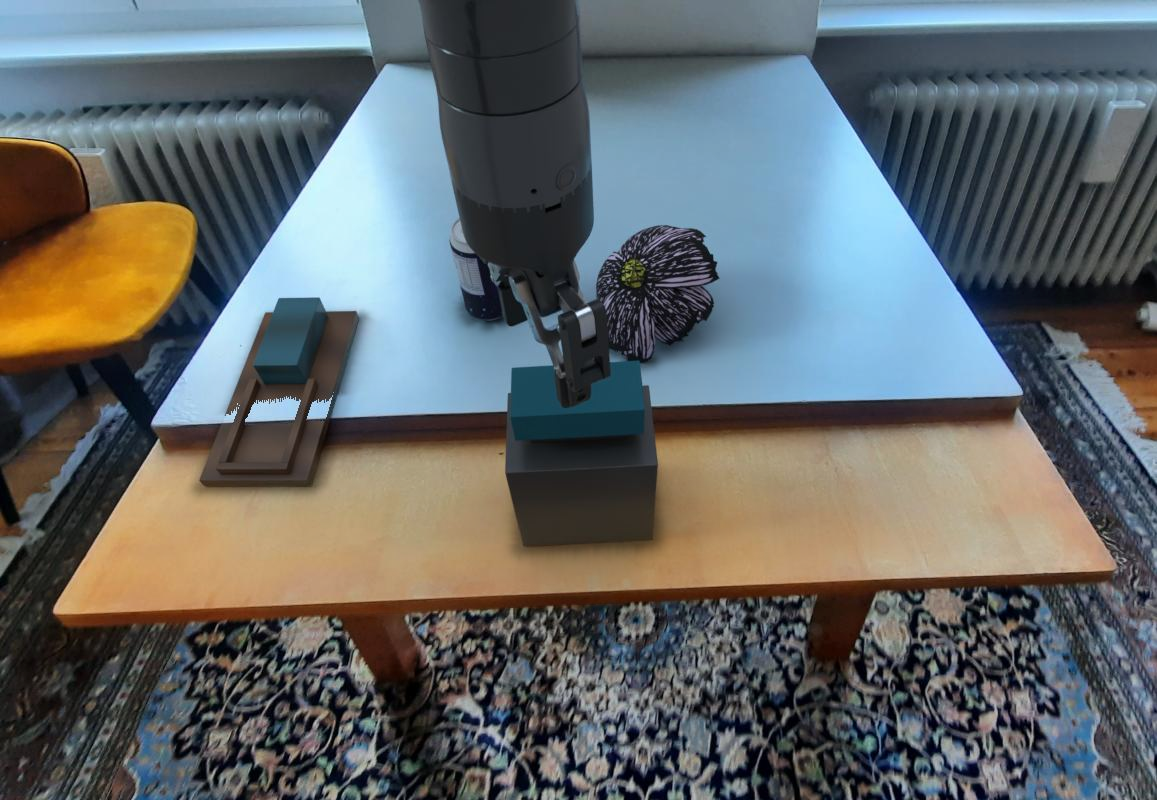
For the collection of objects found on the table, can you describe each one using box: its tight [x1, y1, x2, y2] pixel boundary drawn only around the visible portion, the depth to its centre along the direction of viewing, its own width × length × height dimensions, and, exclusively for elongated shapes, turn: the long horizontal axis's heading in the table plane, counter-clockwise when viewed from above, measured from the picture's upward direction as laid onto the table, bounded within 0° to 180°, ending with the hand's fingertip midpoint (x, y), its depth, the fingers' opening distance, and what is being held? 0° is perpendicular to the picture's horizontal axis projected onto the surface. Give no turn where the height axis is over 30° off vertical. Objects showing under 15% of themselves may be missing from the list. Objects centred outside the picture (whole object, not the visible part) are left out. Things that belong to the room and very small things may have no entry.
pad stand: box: [504, 384, 659, 547], centre depth 64 cm, size 12×8×15 cm, turn 92°
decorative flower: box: [595, 224, 720, 364], centre depth 81 cm, size 15×12×15 cm
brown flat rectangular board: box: [198, 296, 360, 487], centre depth 78 cm, size 23×11×4 cm, turn 178°
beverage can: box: [448, 217, 503, 321], centre depth 82 cm, size 6×6×12 cm
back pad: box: [510, 360, 645, 441], centre depth 57 cm, size 10×5×3 cm, turn 92°
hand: (546, 358), depth 51 cm, fingers open, 8 cm apart
